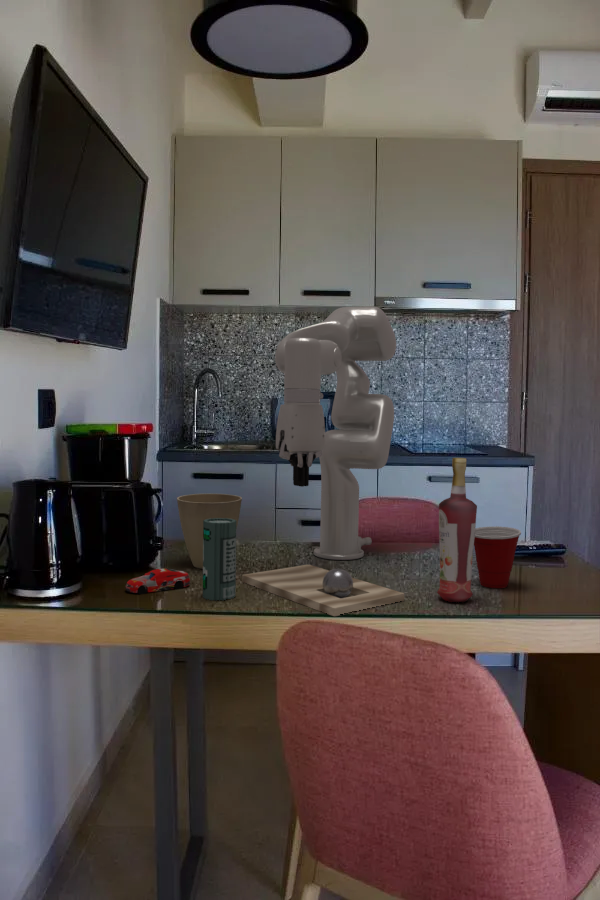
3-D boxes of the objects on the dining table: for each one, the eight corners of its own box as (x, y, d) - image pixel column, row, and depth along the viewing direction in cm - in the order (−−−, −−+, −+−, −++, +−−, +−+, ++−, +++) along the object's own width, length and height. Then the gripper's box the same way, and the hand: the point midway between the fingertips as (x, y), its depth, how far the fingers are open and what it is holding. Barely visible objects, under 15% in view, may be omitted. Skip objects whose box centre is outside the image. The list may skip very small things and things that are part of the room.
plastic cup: (456, 581, 158) (458, 526, 157) (497, 577, 162) (499, 524, 161) (487, 593, 148) (489, 535, 147) (530, 589, 152) (532, 532, 151)
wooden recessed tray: (242, 581, 154) (242, 574, 154) (308, 570, 165) (308, 564, 165) (334, 616, 130) (334, 608, 130) (404, 601, 141) (404, 593, 141)
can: (216, 590, 146) (216, 517, 145) (240, 595, 143) (241, 520, 142) (197, 597, 141) (197, 521, 140) (222, 602, 138) (223, 524, 137)
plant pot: (172, 560, 173) (172, 494, 172) (233, 557, 178) (233, 492, 177) (181, 574, 159) (182, 502, 158) (247, 571, 164) (248, 501, 162)
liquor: (480, 604, 140) (485, 459, 138) (444, 605, 138) (449, 459, 137) (463, 594, 147) (468, 456, 145) (430, 595, 146) (434, 456, 144)
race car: (130, 597, 141) (130, 577, 141) (121, 591, 146) (121, 571, 146) (193, 589, 148) (193, 569, 148) (182, 583, 153) (182, 564, 153)
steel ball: (356, 601, 139) (345, 599, 145) (358, 570, 140) (347, 568, 146) (327, 599, 137) (317, 597, 143) (329, 567, 138) (319, 566, 144)
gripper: (318, 398, 158) (317, 481, 159) (262, 397, 149) (261, 486, 150) (341, 398, 152) (339, 485, 154) (284, 397, 143) (283, 490, 144)
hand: (300, 485), depth 152 cm, fingers closed
